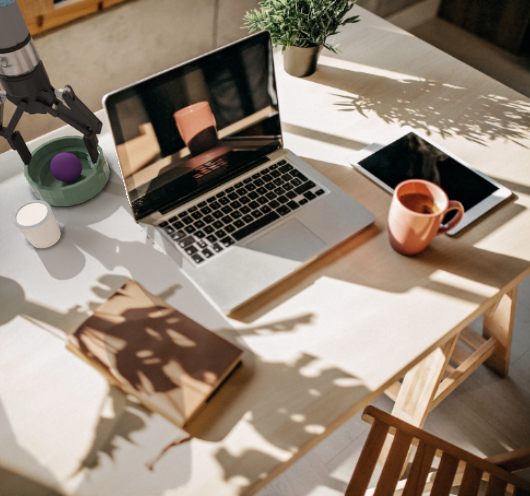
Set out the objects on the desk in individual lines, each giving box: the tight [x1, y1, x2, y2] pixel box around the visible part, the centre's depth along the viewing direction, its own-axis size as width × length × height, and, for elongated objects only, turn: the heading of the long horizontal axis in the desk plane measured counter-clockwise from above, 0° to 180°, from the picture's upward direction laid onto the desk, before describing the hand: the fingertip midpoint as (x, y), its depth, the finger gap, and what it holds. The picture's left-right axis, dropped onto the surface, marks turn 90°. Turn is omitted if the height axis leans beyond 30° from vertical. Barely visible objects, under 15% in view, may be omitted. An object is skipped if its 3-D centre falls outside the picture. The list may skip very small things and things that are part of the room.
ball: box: [50, 153, 82, 182], centre depth 100 cm, size 6×6×6 cm
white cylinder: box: [11, 199, 62, 249], centre depth 92 cm, size 7×7×7 cm
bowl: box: [23, 135, 111, 207], centre depth 101 cm, size 16×16×5 cm
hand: (62, 159), depth 99 cm, fingers open, 13 cm apart
